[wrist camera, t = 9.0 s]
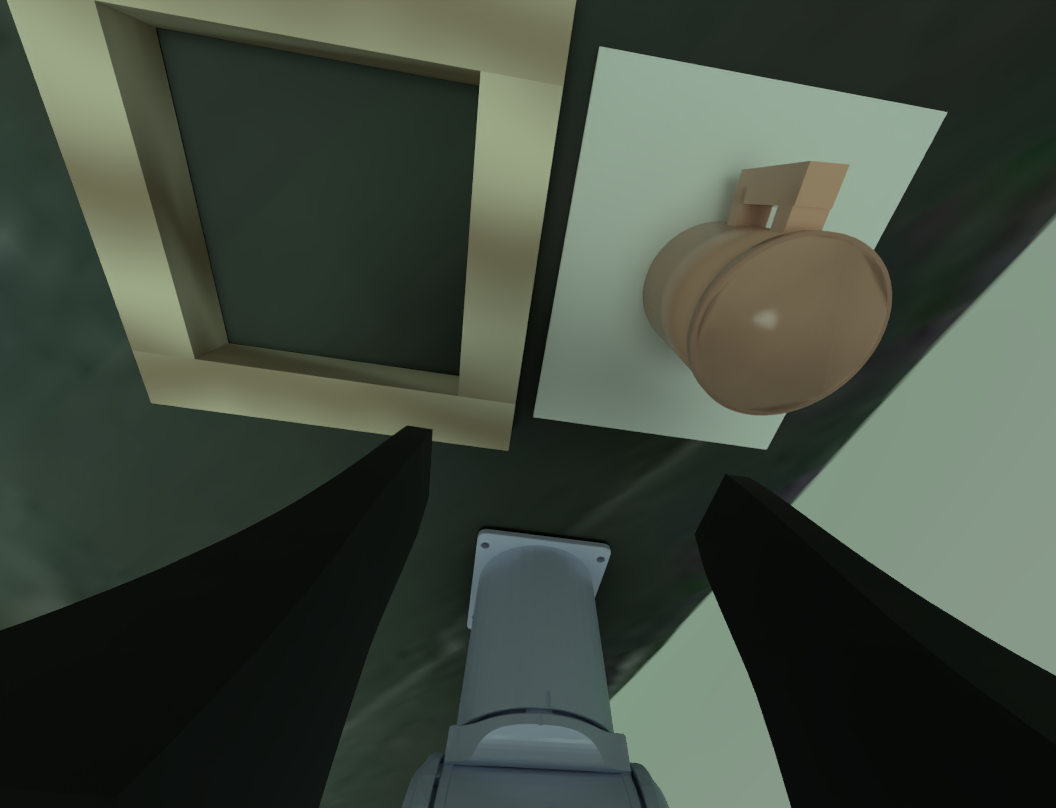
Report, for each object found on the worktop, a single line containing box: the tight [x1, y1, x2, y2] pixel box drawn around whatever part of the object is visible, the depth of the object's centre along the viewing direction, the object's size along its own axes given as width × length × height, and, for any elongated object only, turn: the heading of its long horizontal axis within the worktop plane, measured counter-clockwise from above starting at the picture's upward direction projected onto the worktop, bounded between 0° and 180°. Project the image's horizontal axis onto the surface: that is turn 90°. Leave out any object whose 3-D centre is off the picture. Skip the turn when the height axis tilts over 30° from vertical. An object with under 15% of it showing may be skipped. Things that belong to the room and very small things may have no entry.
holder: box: [7, 0, 576, 451], centre depth 15 cm, size 16×16×2 cm
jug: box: [643, 161, 892, 416], centre depth 13 cm, size 5×7×6 cm
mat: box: [533, 47, 947, 450], centre depth 16 cm, size 14×12×1 cm
